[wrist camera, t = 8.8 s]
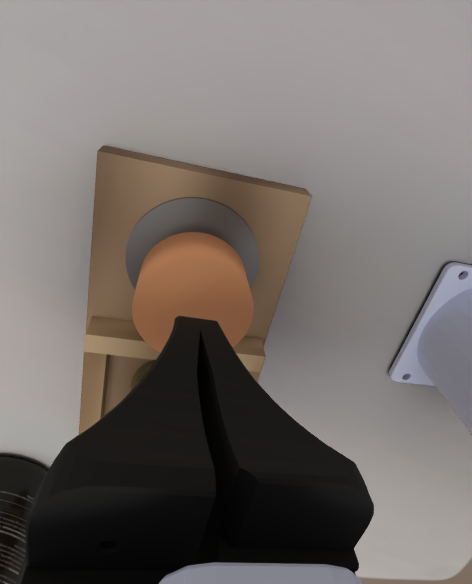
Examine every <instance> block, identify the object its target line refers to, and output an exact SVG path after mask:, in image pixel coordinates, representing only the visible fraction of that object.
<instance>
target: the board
mask: <svg viewBox="0 0 472 584" xmlns="http://www.w3.org/2000/svg"><path fill="white" fill-rule="evenodd" d="M311 198H312V196H311V195H310V194H309V192H308V191H307V190H306V189H303V188H298V187H294V186H289V185H284V184H280V183H275V182H271V181H266V180H261V179H257V178H252V177H247V176H243V175H238V174H233V173H229V172H224V171H219V170H215V169H210V168H206V167H201V166H196V165H192V164H187V163H182V162H178V161H173V160H168V159H164V158H159V157H154V156H150V155H145V154H140V153H136V152H131V151H127V150H122V149H117V148H113V147H108V146H102V147H101V148H100V149H99V150H98V152H97V168H96V183H95V199H94V214H93V230H92V246H91V261H90V277H89V292H88V308H87V323H86V334H85V346H84V362H83V377H82V393H81V409H80V425H79V435H80V434H81V433H82V432H84V431H85V430H87V429H88V428H90V427H91V426H92V425H94V424H95V423H96V422H98V421H99V420H100V419H101V418H102V417H104V416H105V415H106V414H107V413H108V412H109V411H111V410H112V409H113V408H114V407H115V406H116V405H118V404H119V403H120V402H121V401H122V400H123V399H124V398H125V397H126V396H127V395H128V394H129V393H130V387H131V382H132V378H133V376H134V374H135V373H136V371H137V370H138V369H139V368H140V367H142V366H143V365H145V364H146V363H148V362H150V361H153V360H156V359H157V358H158V356H159V355H160V352H158V351H156V350H155V349H154V348H152V347H151V346H150V345H149V344H147V343H146V342H145V341H144V339H143V338H142V337H141V336H140V334H139V333H138V331H137V329H136V327H135V324H134V321H133V317H132V302H133V298H134V294H135V290H136V286H137V282H138V278H139V274H140V270H141V266H142V263H143V261H144V259H145V257H146V255H147V254H148V253H149V251H150V250H151V249H152V248H153V247H154V246H155V245H156V244H158V243H159V242H160V241H162V240H164V239H166V238H167V237H170V236H172V235H175V234H179V233H185V232H200V233H206V234H210V235H213V236H215V237H218V238H220V239H222V240H223V241H225V242H226V243H228V244H229V245H230V246H231V247H232V248H233V249H234V250H235V251H236V252H237V254H238V255H239V257H240V258H241V260H242V262H243V265H244V268H245V272H246V276H247V280H248V283H249V287H250V291H251V295H252V299H253V306H254V311H253V318H252V322H251V325H250V327H249V329H248V331H247V333H246V334H245V336H244V337H243V338H242V339H241V340H240V342H239V343H238V344H236V345H235V346H234V347H233V349H234V351H235V352H236V354H237V355H238V357H239V358H240V360H241V361H242V363H243V364H244V366H245V367H246V369H247V370H248V371H249V373H250V374H251V375H252V377H253V378H254V379H255V381H256V382H257V381H258V378H259V375H260V372H261V369H262V366H263V363H264V360H265V357H266V356H265V352H264V348H263V346H264V343H265V340H266V337H267V334H268V330H269V327H270V324H271V321H272V318H273V315H274V312H275V309H276V306H277V303H278V300H279V297H280V294H281V290H282V287H283V284H284V281H285V278H286V275H287V272H288V269H289V266H290V263H291V260H292V257H293V254H294V251H295V247H296V244H297V241H298V238H299V235H300V232H301V229H302V226H303V223H304V220H305V217H306V214H307V211H308V207H309V204H310V201H311Z"/></svg>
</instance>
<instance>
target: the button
mask: <svg viewBox="0 0 472 584" xmlns="http://www.w3.org/2000/svg"><path fill="white" fill-rule="evenodd" d="M253 311H254V306H253V299H252V295H251V291H250V287H249V283H248V280H247V276H246V272H245V268H244V265H243V262H242V260H241V258H240V257H239V255H238V254H237V252H236V251H235V250H234V249H233V248H232V247H231V246H230V245H229V244H228V243H226V242H225V241H223V240H222V239H220V238H218V237H215V236H213V235H210V234H206V233H200V232H185V233H179V234H175V235H172V236H170V237H167V238H166V239H164V240H162V241H160V242H159V243H158V244H156V245H155V246H154V247H153V248H152V249H151V250H150V251H149V253H148V254H147V255H146V257H145V259H144V261H143V263H142V266H141V270H140V274H139V278H138V282H137V286H136V290H135V294H134V298H133V302H132V317H133V321H134V324H135V327H136V329H137V331H138V333H139V334H140V336H141V337H142V338H143V339H144V341H145V342H146V343H147V344H149V345H150V346H151V347H152V348H154V349H155V350H156V351H158V352H160V353H161V351H162V350H163V348H164V346H165V344H166V342H167V341H168V339H169V337H170V334H171V332H172V330H173V326H174V321H175V318H176V317H178V316H185V317H193V318H200V319H207V320H214V321H217V322H218V323H219V325H220V327H221V329H222V330H223V332H224V334H225V336H226V338H227V339H228V341H229V343H230V344H231V346H232V348H233V347H234V346H235V345H236V344H238V343H239V342H240V340H241V339H242V338H243V337H244V336H245V334H246V333H247V331H248V329H249V327H250V325H251V322H252V318H253Z"/></svg>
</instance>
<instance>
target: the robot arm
mask: <svg viewBox="0 0 472 584" xmlns="http://www.w3.org/2000/svg"><path fill="white" fill-rule="evenodd" d="M462 271H464V272H463V274H462V275H460V276H459V274H460V273H461V272H462ZM404 374H406V375H404ZM403 375H404V376H403ZM389 376H390V378H391V379H392V380H393V381H395V382H403V383H411V384H420V385H428V386H436V388H437V389H438V390H439V392H440V393H441V394H442V396H443V397H444V398H445V400H446V401H447V402H448V404H449V405H450V406H451V408H452V409H453V410H454V412H455V413H456V414H457V416H458V417H459V418H460V419H461V421H462V422H463V423H464V425H465V426H466V427H467V429H468V430H469V431H470V433H471V434H472V265H467V264H462V263H457V262H452V263H449V264H448V265H446V266H445V267H444V269H443V271H442V272H441V274H440V276H439V278H438V280H437V282H436V284H435V286H434V288H433V289H432V291H431V293H430V295H429V297H428V299H427V301H426V303H425V305H424V306H423V308H422V310H421V312H420V314H419V316H418V318H417V320H416V322H415V323H414V325H413V327H412V329H411V331H410V333H409V335H408V337H407V339H406V340H405V342H404V344H403V346H402V348H401V350H400V352H399V354H398V356H397V357H396V359H395V361H394V363H393V365H392V367H391V369H390V371H389ZM373 514H374V505H373V502H372V500H371V497H370V495H369V493H368V490H367V487H366V485H365V482H364V480H363V478H362V476H361V474H360V472H359V470H358V468H357V466H356V464H355V463H354V462H353V461H351V460H350V459H348V458H347V457H345V456H343V455H342V454H340V453H339V452H337V451H336V450H334V449H332V448H331V447H329V446H328V445H326V444H325V443H323V442H322V441H321V440H319V439H318V438H317V437H315V436H314V435H313V434H311V433H310V432H309V431H307V430H306V429H305V428H304V427H302V426H301V425H300V424H299V423H297V422H296V421H295V420H294V419H293V418H292V417H291V416H289V415H288V414H287V413H286V412H285V411H284V410H283V409H282V408H281V407H280V406H279V405H278V404H276V403H275V402H274V401H273V399H272V398H271V397H270V396H269V395H268V394H267V393H266V392H265V391H264V390H263V389H262V388H261V386H260V385H259V384H258V383H257V382H256V381H255V379H254V378H253V377H252V375H251V374H250V373H249V371H248V370H247V369H246V367H245V366H244V364H243V363H242V361H241V360H240V358H239V357H238V355H237V354H236V352H235V351H234V349H233V348H232V346H231V344H230V343H229V341H228V339H227V338H226V336H225V334H224V332H223V330H222V329H221V327H220V325H219V323H218V322H217V321H214V320H207V319H200V318H193V317H185V316H178V317H176V318H175V321H174V326H173V330H172V332H171V334H170V337H169V339H168V341H167V342H166V344H165V346H164V348H163V350H162V351H161V353H160V355H159V356H158V358H157V359H156V361H155V362H154V363H153V365H152V366H151V368H150V369H149V371H148V372H147V373H146V374H145V376H144V377H143V378H142V379H141V381H140V382H139V383H138V384H137V385H136V386H135V387H134V388H133V390H132V391H131V392H130V393H129V394H128V395H127V396H126V397H125V398H124V399H123V400H122V401H121V402H120V403H119V404H118V405H116V406H115V407H114V408H113V409H112V410H111V411H109V412H108V413H107V414H106V415H105V416H104V417H102V418H101V419H100V420H99V421H98V422H96V423H95V424H94V425H92V426H91V427H90V428H88V429H87V430H85V431H84V432H82V433H81V434H80V435H78V436H77V437H75V438H74V439H72V440H71V441H69V442H68V443H66V444H65V446H64V447H63V449H62V450H61V452H60V453H59V454H58V456H57V457H56V459H55V460H54V462H53V464H52V465H51V467H50V468H49V470H48V472H47V473H46V475H45V477H44V479H43V481H42V483H41V485H40V487H39V489H38V491H37V493H36V495H35V498H34V501H33V504H32V506H31V509H30V512H29V515H28V518H27V523H26V528H25V533H26V564H27V566H26V569H25V572H24V575H23V578H22V581H21V584H363V583H362V581H361V580H360V579H359V578H358V577H357V576H356V574H355V571H357V570H358V568H359V563H358V560H357V557H356V554H355V551H354V547H355V546H356V544H357V542H358V541H359V539H360V538H361V536H362V535H363V533H364V532H365V530H366V529H367V527H368V525H369V523H370V521H371V519H372V517H373Z"/></svg>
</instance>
